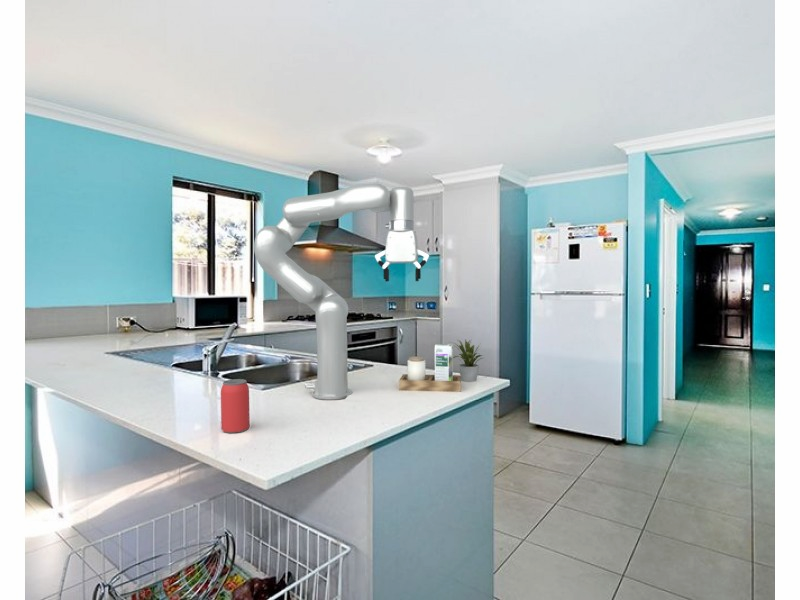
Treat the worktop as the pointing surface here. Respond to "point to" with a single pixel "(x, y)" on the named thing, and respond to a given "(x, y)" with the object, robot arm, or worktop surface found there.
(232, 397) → the beer can
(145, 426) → the worktop surface
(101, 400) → the worktop surface
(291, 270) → the robot arm
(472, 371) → the house plant
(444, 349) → the syrup box
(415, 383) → the wooden tray
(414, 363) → the ceramic jar
